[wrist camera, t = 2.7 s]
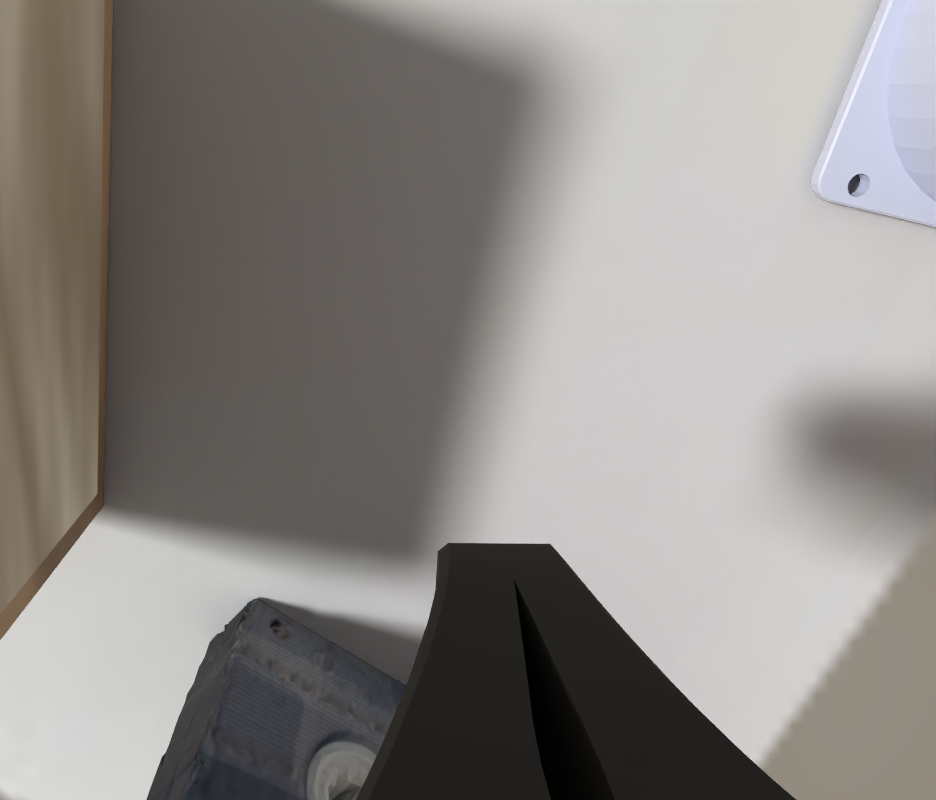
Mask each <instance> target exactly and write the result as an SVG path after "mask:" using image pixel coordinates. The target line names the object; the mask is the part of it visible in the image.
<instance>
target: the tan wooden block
mask: <svg viewBox="0 0 936 800" xmlns="http://www.w3.org/2000/svg"><path fill="white" fill-rule="evenodd" d="M112 32H113V0H0V640H1V639H2V637H3V636H4V635H5V633H6V632H7V631H8V629H9V628H10V627H11V626H12V624H13V623H14V622H15V620H16V619H17V618H18V616H19V615H20V614H21V612H22V611H23V610H24V609H25V607H26V606H27V605H28V603H29V602H30V601H31V599H32V598H33V597H34V596H35V594H36V593H37V592H38V590H39V589H40V588H41V586H42V585H43V584H44V583H45V581H46V580H47V579H48V577H49V576H50V575H51V573H52V572H53V571H54V570H55V568H56V567H57V566H58V564H59V563H60V562H61V560H62V559H63V558H64V556H65V555H66V554H67V553H68V551H69V550H70V549H71V547H72V546H73V545H74V543H75V542H76V541H77V540H78V538H79V537H80V536H81V534H82V533H83V532H84V530H85V529H86V528H87V527H88V525H89V524H90V523H91V521H92V520H93V519H94V517H95V516H96V515H97V514H98V512H99V511H100V510H101V508H102V507H103V506H104V454H105V401H106V349H107V296H108V243H109V191H110V138H111V85H112Z"/></svg>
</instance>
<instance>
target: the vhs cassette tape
mask: <svg viewBox="0 0 936 800" xmlns="http://www.w3.org/2000/svg"><path fill="white" fill-rule="evenodd" d="M405 688H406V686H405V685H404V684H402V683H400V682H399V681H397V680H395V679H393V678H392V677H390V676H388V675H387V674H385V673H383V672H382V671H380V670H378V669H377V668H375V667H373V666H372V665H370V664H368V663H366V662H365V661H363V660H361V659H360V658H358V657H356V656H355V655H353V654H351V653H349V652H348V651H346V650H344V649H342V648H341V647H339V646H337V645H336V644H334V643H332V642H331V641H329V640H327V639H325V638H324V637H322V636H320V635H319V634H317V633H315V632H314V631H312V630H310V629H309V628H307V627H305V626H303V625H302V624H300V623H298V622H296V621H294V620H293V619H291V618H289V617H288V616H286V615H284V614H282V613H281V612H279V611H277V610H276V609H274V608H272V607H271V606H269V605H267V604H266V603H264V602H262V601H261V600H258V599H254V600H252V601H250V602H248V603H247V605H246V606H245V607H244V608H243V609H242V610H241V611H240V612H239V613H238V614H237V615H236V616H235V617H234V618H233V619H232V620H231V621H230V622H229V624H227V625H225V631H224V632H221V633H219V634H217V635H216V636H215V637H214V638H213V639H212V641H211V642H210V643H209V646H208V649H207V652H206V655H205V658H204V660H203V661H202V663H201V665H200V667H199V669H198V672H197V675H196V678H195V681H194V684H193V685H192V687H191V689H190V690H189V692H188V694H187V697H186V701H185V704H184V706H183V709H182V711H181V713H180V716H179V718H178V721H177V724H176V726H175V729H174V732H173V735H172V738H171V741H170V744H169V746H168V749H167V751H166V753H165V754H164V755H163V757H162V759H161V761H160V764H159V767H158V769H157V772H156V775H155V777H154V780H153V783H152V786H151V789H150V791H149V794H148V797H147V800H356V798H357V796H358V794H359V792H360V790H361V788H362V786H363V784H364V782H365V780H366V778H367V775H368V773H369V771H370V769H371V767H372V765H373V763H374V760H375V758H376V756H377V754H378V752H379V750H380V747H381V745H382V743H383V740H384V738H385V736H386V733H387V731H388V728H389V726H390V724H391V721H392V719H393V716H394V714H395V712H396V709H397V707H398V704H399V702H400V700H401V697H402V695H403V692H404V690H405Z"/></svg>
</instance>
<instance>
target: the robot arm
mask: <svg viewBox="0 0 936 800" xmlns="http://www.w3.org/2000/svg"><path fill="white" fill-rule="evenodd" d="M857 174H859V177H860V185H859V187H858V188H857V190H856V191H855V192H853V193H852V194H849V192H848V183H849V181H850V180H851V179H852V177H854V176H855V175H857ZM811 186H812V191H813V192H814V194H815V195H816V197H818V198H820V199H822V200H825V201H828V202H832V203H837V204H841V205H845V206H849V207H853V208H858V209H862V210H866V211H870V212H874V213H879V214H883V215H887V216H891V217H895V218H900V219H904V220H908V221H912V222H916V223H920V224H925V225H929V226H933V227H936V0H882V1H881V4H880V6H879V9H878V11H877V14H876V16H875V19H874V22H873V24H872V27H871V29H870V32H869V34H868V37H867V39H866V42H865V44H864V47H863V49H862V52H861V54H860V57H859V59H858V62H857V64H856V67H855V69H854V72H853V74H852V77H851V79H850V82H849V84H848V87H847V89H846V92H845V94H844V97H843V99H842V102H841V104H840V107H839V109H838V112H837V115H836V117H835V120H834V122H833V125H832V127H831V130H830V132H829V135H828V137H827V140H826V142H825V145H824V147H823V150H822V152H821V155H820V157H819V160H818V162H817V165H816V167H815V170H814V172H813V175H812V180H811ZM356 800H796V799H794V798H793V797H792V796H791V795H790V794H789V793H788V792H787V791H785V790H784V789H783V788H782V787H781V786H779V785H778V784H777V783H776V782H775V781H773V780H772V779H771V778H770V777H769V776H768V775H767V774H766V773H765V772H764V771H763V770H761V769H760V768H759V767H758V766H757V765H756V764H755V763H754V762H753V761H752V760H750V759H749V758H748V757H747V756H746V755H745V754H744V753H743V752H742V751H741V750H740V749H739V748H737V747H736V746H735V745H734V744H733V743H732V742H731V741H730V740H729V739H728V738H727V737H726V736H725V735H724V734H723V733H722V732H721V731H720V730H719V729H718V728H717V727H716V726H715V725H714V724H713V723H712V722H711V721H710V720H709V719H708V718H707V717H706V716H705V715H704V714H702V713H701V712H700V711H699V710H698V709H697V708H696V707H695V706H694V705H693V704H692V703H691V702H690V701H689V700H688V699H687V697H686V696H685V695H684V694H683V693H682V692H681V691H680V690H679V689H678V688H677V687H676V686H675V685H674V684H673V683H672V682H671V681H670V680H669V679H668V678H667V677H666V676H665V674H664V673H663V672H662V671H661V670H660V669H659V668H658V667H657V666H656V665H655V664H654V663H653V661H652V660H651V659H650V658H649V657H648V656H647V655H646V654H645V653H644V652H643V651H642V650H641V648H640V647H639V646H638V645H637V644H636V643H635V642H634V641H633V640H632V639H631V638H630V636H629V635H628V634H627V633H626V632H625V631H624V630H623V629H622V627H621V626H620V625H619V624H618V623H617V622H616V621H615V619H614V618H613V617H612V616H611V615H610V614H609V612H608V611H607V610H606V609H605V608H604V607H603V605H602V604H601V603H600V602H599V601H598V600H597V598H596V597H595V596H594V595H593V594H592V593H591V591H590V590H589V589H588V588H587V587H586V585H585V584H584V583H583V582H582V581H581V579H580V578H579V577H578V576H577V575H576V573H575V572H574V571H573V570H572V569H571V567H570V566H569V565H568V564H567V563H566V561H565V560H564V559H563V558H562V557H561V556H560V554H559V553H558V552H557V551H556V550H555V549H554V548H553V547H552V545H551V544H487V543H448V544H447V545H445V546H444V547H443V548H442V549H440V550H439V551H438V558H437V575H436V591H435V596H434V600H433V604H432V608H431V612H430V616H429V620H428V623H427V626H426V629H425V632H424V635H423V639H422V642H421V645H420V648H419V651H418V654H417V657H416V660H415V663H414V666H413V669H412V672H411V675H410V677H409V680H408V683H407V685H406V688H405V690H404V692H403V695H402V697H401V700H400V702H399V704H398V707H397V709H396V712H395V714H394V716H393V719H392V721H391V724H390V726H389V728H388V731H387V733H386V736H385V738H384V740H383V743H382V745H381V747H380V750H379V752H378V754H377V756H376V758H375V760H374V763H373V765H372V767H371V769H370V771H369V773H368V775H367V778H366V780H365V782H364V784H363V786H362V788H361V790H360V792H359V794H358V796H357V798H356Z"/></svg>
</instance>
